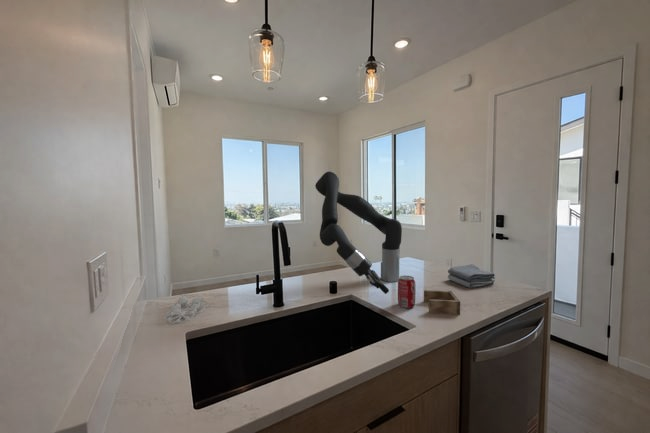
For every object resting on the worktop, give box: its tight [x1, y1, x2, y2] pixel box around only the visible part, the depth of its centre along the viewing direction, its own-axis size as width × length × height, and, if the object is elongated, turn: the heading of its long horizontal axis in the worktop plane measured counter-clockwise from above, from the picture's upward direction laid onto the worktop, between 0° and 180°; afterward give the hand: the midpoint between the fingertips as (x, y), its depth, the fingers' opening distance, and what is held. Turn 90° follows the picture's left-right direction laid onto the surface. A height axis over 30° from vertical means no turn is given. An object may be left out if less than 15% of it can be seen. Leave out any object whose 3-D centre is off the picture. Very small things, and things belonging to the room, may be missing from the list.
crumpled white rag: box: [163, 296, 210, 325], centre depth 110 cm, size 19×14×4 cm
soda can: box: [397, 275, 417, 309], centre depth 115 cm, size 7×7×12 cm
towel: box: [447, 263, 496, 289], centre depth 145 cm, size 15×18×8 cm
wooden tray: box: [423, 289, 461, 315], centre depth 113 cm, size 11×12×5 cm
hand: (387, 292), depth 116 cm, fingers closed
